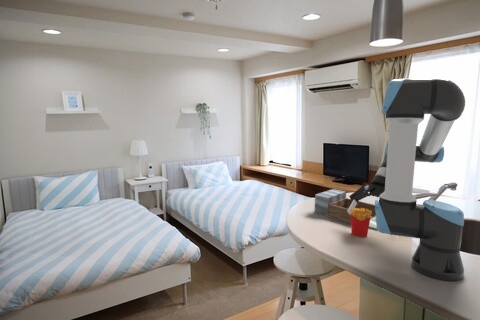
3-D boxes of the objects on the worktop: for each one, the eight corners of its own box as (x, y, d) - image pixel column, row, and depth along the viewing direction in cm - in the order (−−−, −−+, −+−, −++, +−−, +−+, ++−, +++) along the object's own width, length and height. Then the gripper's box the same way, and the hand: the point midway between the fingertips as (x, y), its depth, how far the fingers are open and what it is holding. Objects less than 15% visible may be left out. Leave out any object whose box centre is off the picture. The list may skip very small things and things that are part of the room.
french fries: (349, 235, 134) (351, 209, 132) (349, 232, 137) (351, 206, 135) (370, 238, 131) (372, 211, 129) (369, 234, 135) (371, 208, 133)
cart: (376, 230, 139) (378, 209, 137) (314, 212, 163) (315, 194, 162) (392, 221, 150) (394, 202, 149) (332, 205, 175) (333, 189, 173)
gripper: (413, 189, 133) (392, 230, 127) (361, 179, 153) (341, 213, 146) (408, 179, 129) (387, 220, 123) (355, 170, 149) (335, 205, 142)
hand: (362, 217), depth 134 cm, fingers open, 13 cm apart
